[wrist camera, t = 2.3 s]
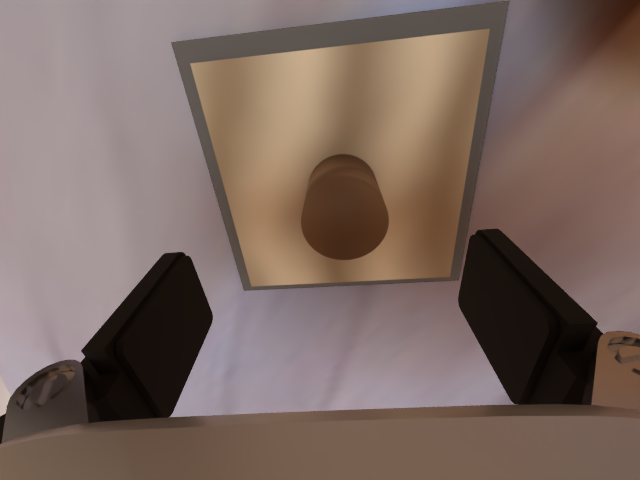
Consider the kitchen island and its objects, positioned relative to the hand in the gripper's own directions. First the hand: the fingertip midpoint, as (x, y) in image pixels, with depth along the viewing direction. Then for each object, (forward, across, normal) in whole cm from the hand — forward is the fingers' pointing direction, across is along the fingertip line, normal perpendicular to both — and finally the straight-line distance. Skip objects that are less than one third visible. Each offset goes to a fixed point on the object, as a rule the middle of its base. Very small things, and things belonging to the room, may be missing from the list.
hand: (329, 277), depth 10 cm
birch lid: (+9, -1, 0) cm, 9 cm away
